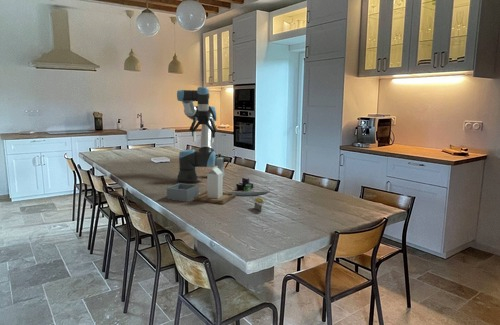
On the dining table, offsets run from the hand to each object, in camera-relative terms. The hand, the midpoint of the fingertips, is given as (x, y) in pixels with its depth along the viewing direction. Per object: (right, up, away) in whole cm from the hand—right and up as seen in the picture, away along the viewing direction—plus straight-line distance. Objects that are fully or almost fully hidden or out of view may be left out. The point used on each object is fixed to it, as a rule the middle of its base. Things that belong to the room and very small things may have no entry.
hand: (203, 141), depth 243 cm
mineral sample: (+28, -33, 0) cm, 44 cm away
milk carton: (+10, -35, -24) cm, 44 cm away
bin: (-9, -36, -23) cm, 43 cm away
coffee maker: (+9, -25, +40) cm, 48 cm away
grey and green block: (+37, -41, -44) cm, 71 cm away
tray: (+10, -36, -24) cm, 45 cm away
